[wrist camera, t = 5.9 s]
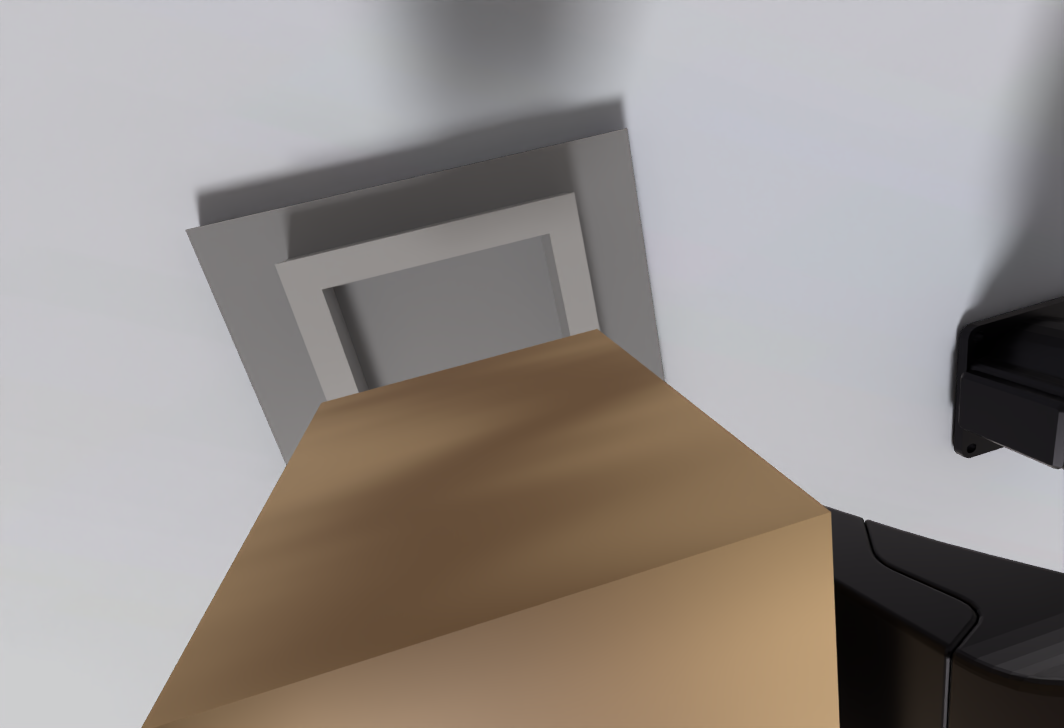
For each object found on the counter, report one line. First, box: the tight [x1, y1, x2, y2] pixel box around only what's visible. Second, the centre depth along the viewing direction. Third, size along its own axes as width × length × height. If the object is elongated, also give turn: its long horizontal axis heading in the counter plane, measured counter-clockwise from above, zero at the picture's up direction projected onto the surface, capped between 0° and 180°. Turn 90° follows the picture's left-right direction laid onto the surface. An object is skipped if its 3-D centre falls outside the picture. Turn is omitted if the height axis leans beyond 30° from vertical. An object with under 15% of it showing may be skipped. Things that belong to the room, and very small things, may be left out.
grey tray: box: [186, 128, 665, 466], centre depth 18 cm, size 14×12×2 cm
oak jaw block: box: [142, 329, 840, 728], centre depth 7 cm, size 5×5×6 cm
